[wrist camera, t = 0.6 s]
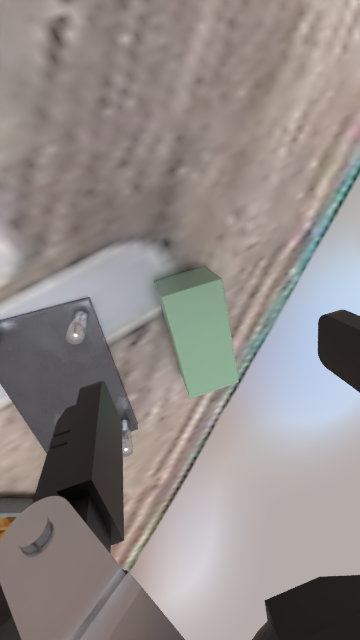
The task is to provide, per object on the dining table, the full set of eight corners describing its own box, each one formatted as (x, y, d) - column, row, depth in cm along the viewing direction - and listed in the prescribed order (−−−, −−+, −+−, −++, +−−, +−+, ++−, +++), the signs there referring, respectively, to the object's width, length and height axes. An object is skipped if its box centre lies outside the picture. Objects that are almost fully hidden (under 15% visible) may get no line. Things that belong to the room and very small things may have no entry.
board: (153, 280, 26) (161, 297, 22) (204, 265, 27) (221, 278, 23) (179, 371, 32) (190, 398, 28) (221, 357, 33) (238, 382, 28)
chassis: (-30, 328, 24) (-60, 356, 20) (88, 297, 25) (84, 317, 21) (51, 452, 32) (41, 490, 28) (137, 424, 34) (141, 456, 29)
